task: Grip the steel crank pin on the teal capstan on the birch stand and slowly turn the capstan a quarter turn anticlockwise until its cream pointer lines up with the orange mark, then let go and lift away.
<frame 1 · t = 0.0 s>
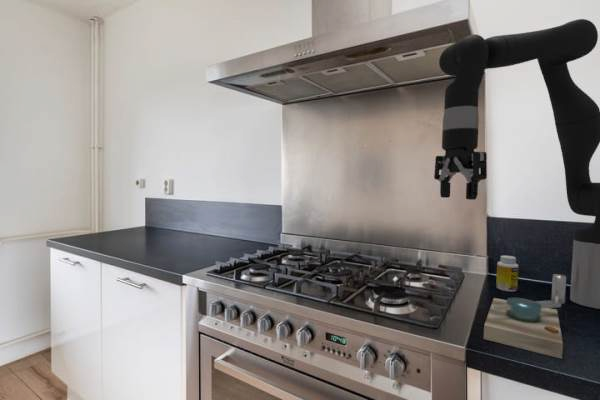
hand: (457, 198, 77), 29 cm above the worktop, tool pointing down, fingers open, 8 cm apart
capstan: (530, 296, 74), point 8 cm above the worktop, hinge at 0.0°
stand: (522, 330, 74), on the worktop
supplement bottle: (506, 289, 102), on the worktop
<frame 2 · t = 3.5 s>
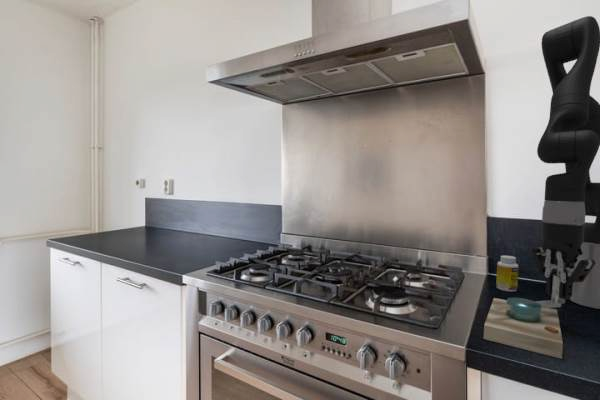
hand: (558, 295, 75), 7 cm above the worktop, tool pointing down, fingers closed on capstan, 2 cm apart
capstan: (530, 296, 74), point 8 cm above the worktop, hinge at 0.0°, touching gripper
everything else where it was.
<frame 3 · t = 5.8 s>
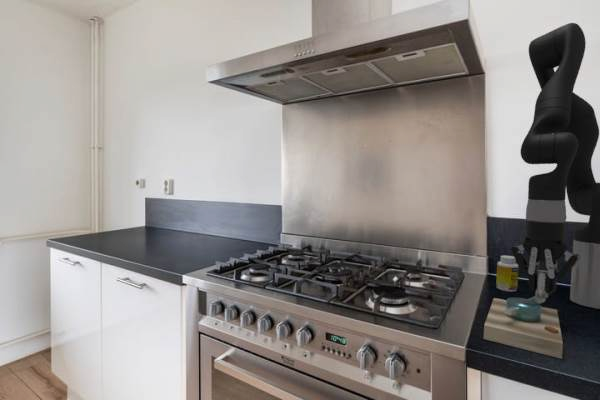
hand: (541, 291, 78), 7 cm above the worktop, tool pointing down, fingers closed on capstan, 2 cm apart
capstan: (527, 295, 74), point 8 cm above the worktop, hinge at 23.0°, touching gripper
everything else where it was.
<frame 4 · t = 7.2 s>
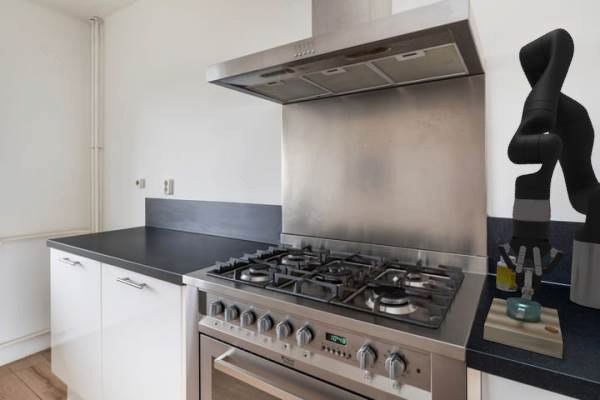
hand: (527, 287, 80), 7 cm above the worktop, tool pointing down, fingers closed on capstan, 2 cm apart
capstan: (524, 294, 74), point 8 cm above the worktop, hinge at 41.2°, touching gripper
everything else where it was.
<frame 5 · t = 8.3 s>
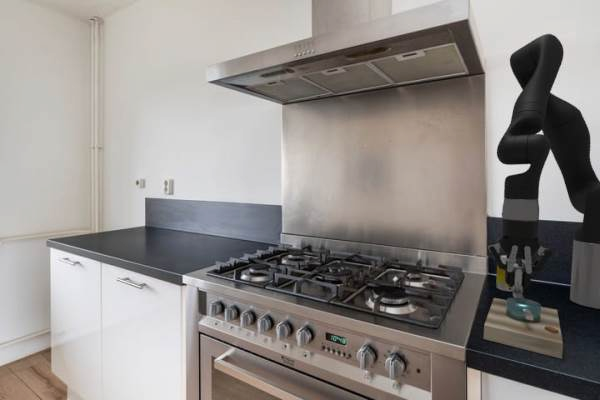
hand: (517, 286, 81), 7 cm above the worktop, tool pointing down, fingers closed on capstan, 2 cm apart
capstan: (522, 294, 75), point 8 cm above the worktop, hinge at 55.1°, touching gripper
everything else where it was.
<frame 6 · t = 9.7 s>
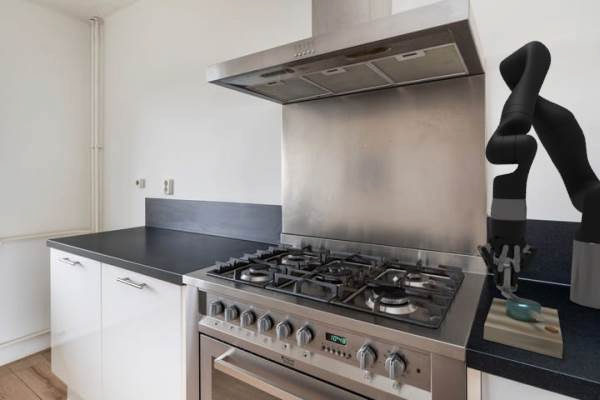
hand: (505, 285, 82), 7 cm above the worktop, tool pointing down, fingers closed on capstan, 2 cm apart
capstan: (520, 294, 75), point 8 cm above the worktop, hinge at 71.6°, touching gripper
everything else where it was.
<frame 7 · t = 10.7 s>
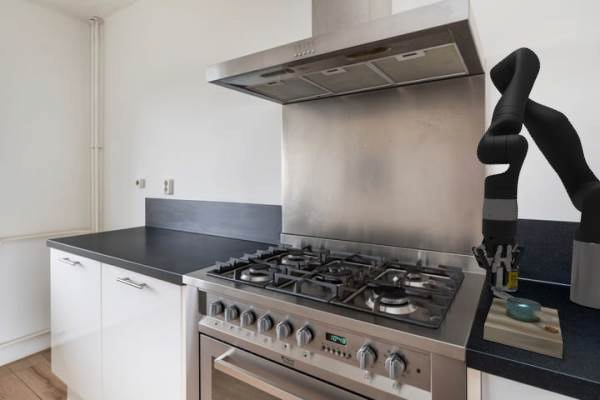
hand: (497, 285, 82), 7 cm above the worktop, tool pointing down, fingers closed on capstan, 2 cm apart
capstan: (518, 294, 75), point 8 cm above the worktop, hinge at 84.6°, touching gripper
everything else where it was.
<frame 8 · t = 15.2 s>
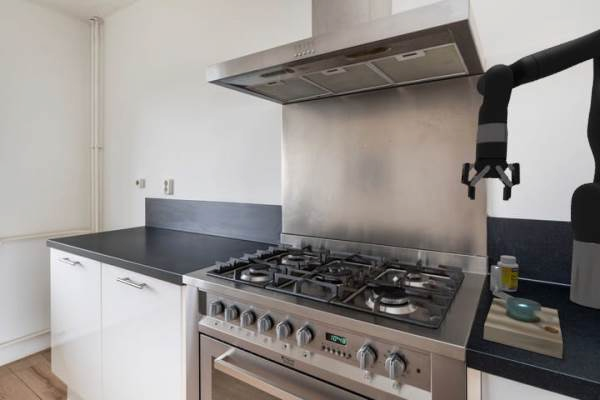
hand: (488, 200, 92), 28 cm above the worktop, tool pointing down, fingers open, 8 cm apart
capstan: (518, 294, 75), point 8 cm above the worktop, hinge at 86.4°
everything else where it was.
at the end: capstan at +86° (first picture: +0°); the gripper is holding nothing; supplement bottle moved 0.2 cm from its start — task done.
